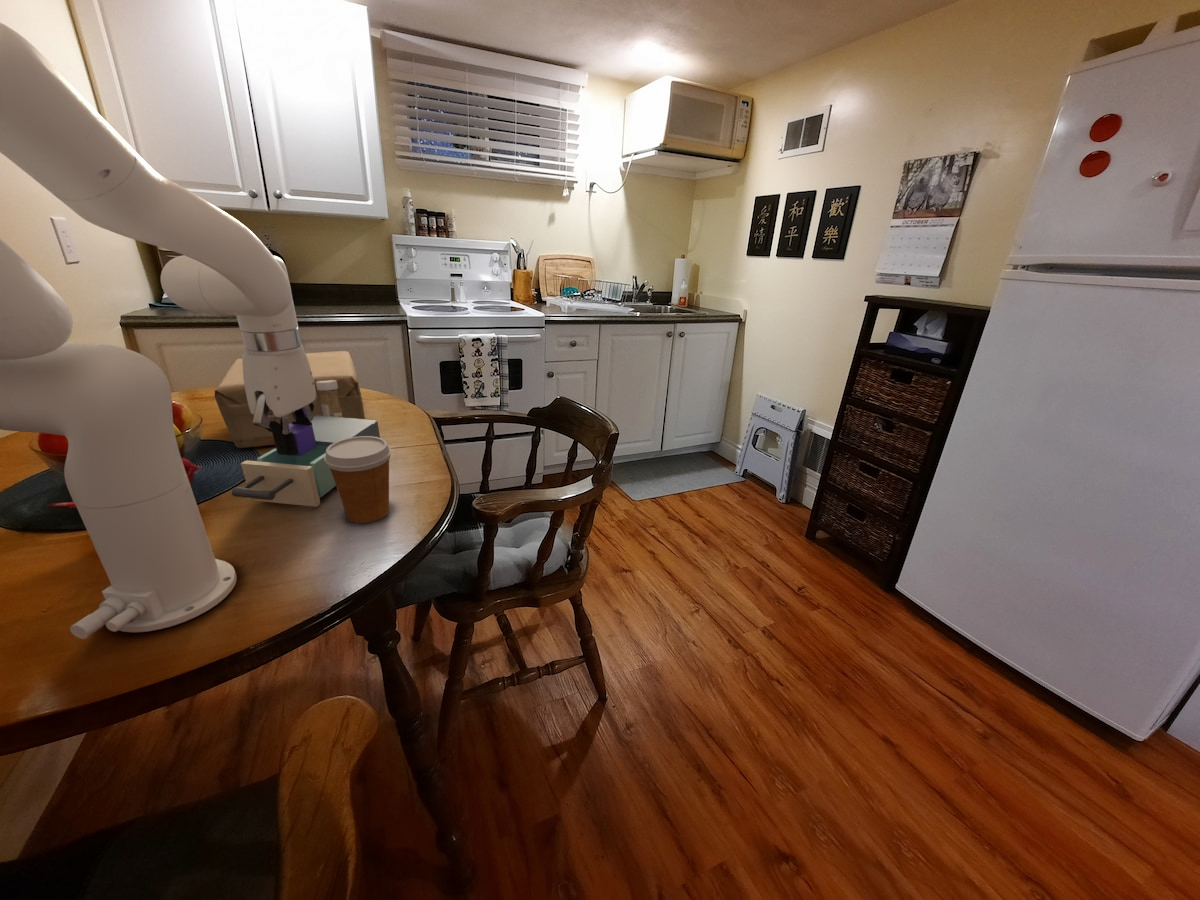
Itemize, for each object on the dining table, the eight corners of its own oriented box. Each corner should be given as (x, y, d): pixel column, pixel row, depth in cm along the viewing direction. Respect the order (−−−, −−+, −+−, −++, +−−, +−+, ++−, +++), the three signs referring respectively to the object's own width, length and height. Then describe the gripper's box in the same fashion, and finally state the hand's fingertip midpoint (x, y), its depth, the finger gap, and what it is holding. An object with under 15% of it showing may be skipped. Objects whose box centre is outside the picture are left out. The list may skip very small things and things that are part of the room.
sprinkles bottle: (350, 440, 107) (340, 380, 102) (327, 443, 105) (315, 382, 99) (347, 433, 110) (336, 375, 105) (324, 436, 108) (312, 377, 103)
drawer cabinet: (350, 487, 88) (342, 443, 85) (285, 480, 89) (274, 437, 86) (383, 460, 99) (377, 420, 95) (324, 454, 100) (316, 415, 96)
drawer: (292, 525, 75) (282, 486, 72) (223, 518, 76) (210, 479, 73) (352, 477, 90) (346, 443, 87) (293, 472, 91) (285, 438, 88)
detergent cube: (301, 456, 81) (296, 433, 79) (278, 454, 81) (272, 431, 80) (316, 446, 85) (311, 425, 83) (294, 444, 85) (289, 423, 83)
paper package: (245, 412, 119) (230, 355, 114) (361, 400, 130) (353, 348, 125) (227, 454, 98) (207, 386, 92) (368, 436, 109) (358, 375, 103)
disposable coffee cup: (337, 503, 83) (324, 438, 78) (398, 495, 87) (389, 432, 82) (334, 533, 75) (319, 463, 70) (400, 522, 79) (391, 455, 74)
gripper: (287, 329, 83) (308, 429, 91) (204, 350, 68) (238, 468, 76) (329, 332, 83) (346, 432, 90) (254, 354, 67) (283, 472, 75)
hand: (297, 447), depth 83 cm, fingers closed on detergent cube, 3 cm apart
